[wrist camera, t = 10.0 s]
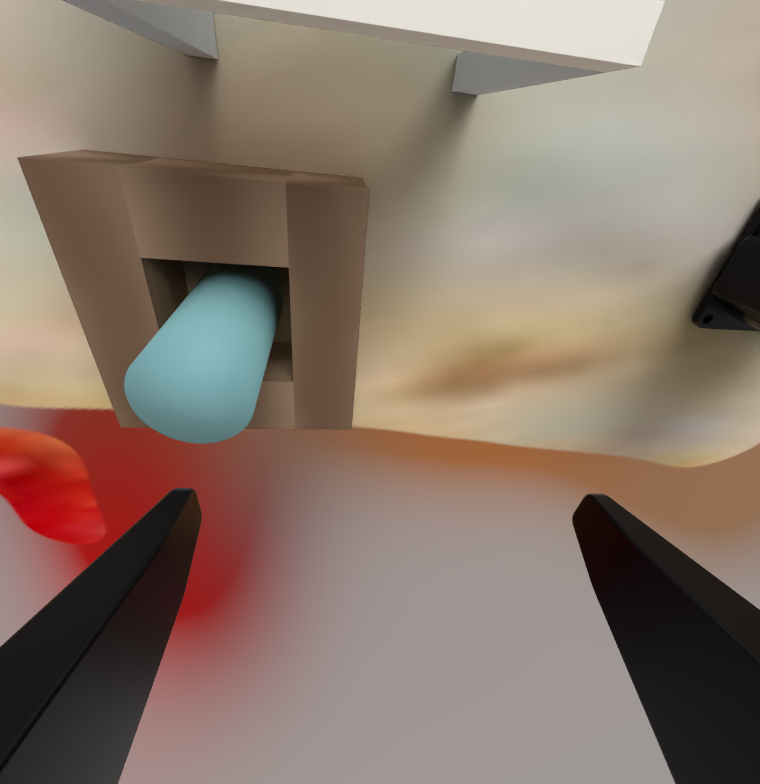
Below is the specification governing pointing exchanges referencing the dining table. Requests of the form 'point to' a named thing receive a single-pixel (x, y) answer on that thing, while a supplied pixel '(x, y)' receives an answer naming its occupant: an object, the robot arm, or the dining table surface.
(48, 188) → the socket
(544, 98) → the dining table surface
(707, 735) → the robot arm
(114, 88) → the dining table surface
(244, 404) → the peg
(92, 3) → the small white footstool
